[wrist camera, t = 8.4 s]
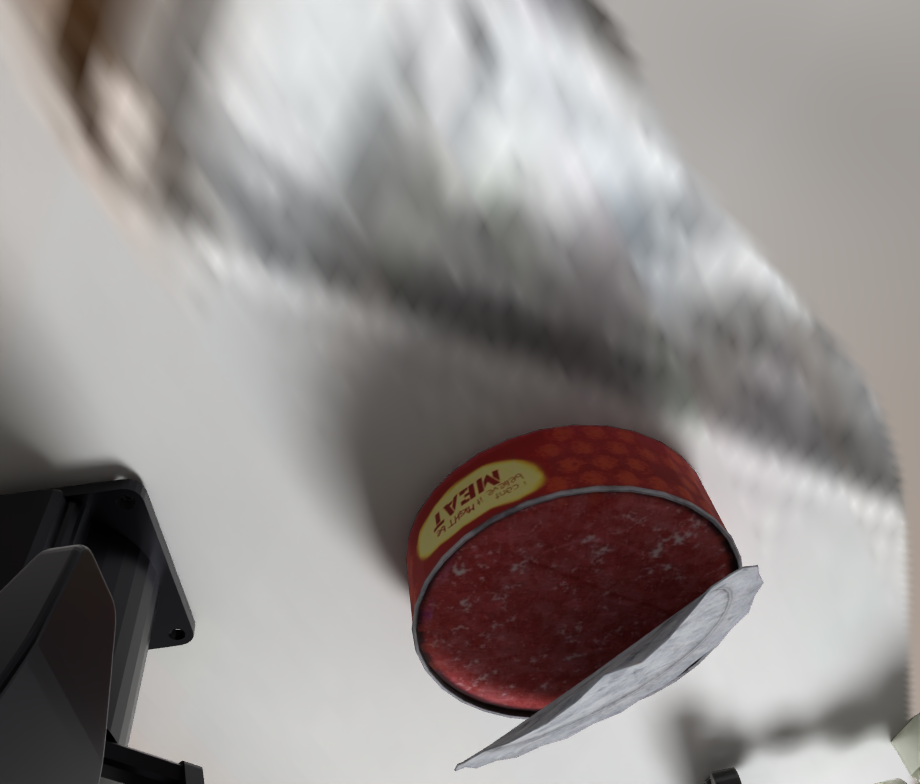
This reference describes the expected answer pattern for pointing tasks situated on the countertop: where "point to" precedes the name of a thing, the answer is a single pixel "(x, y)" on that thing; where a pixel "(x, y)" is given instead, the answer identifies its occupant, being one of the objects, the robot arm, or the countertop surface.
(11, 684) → the robot arm
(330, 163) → the countertop surface
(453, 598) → the canned food
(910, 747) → the valve
